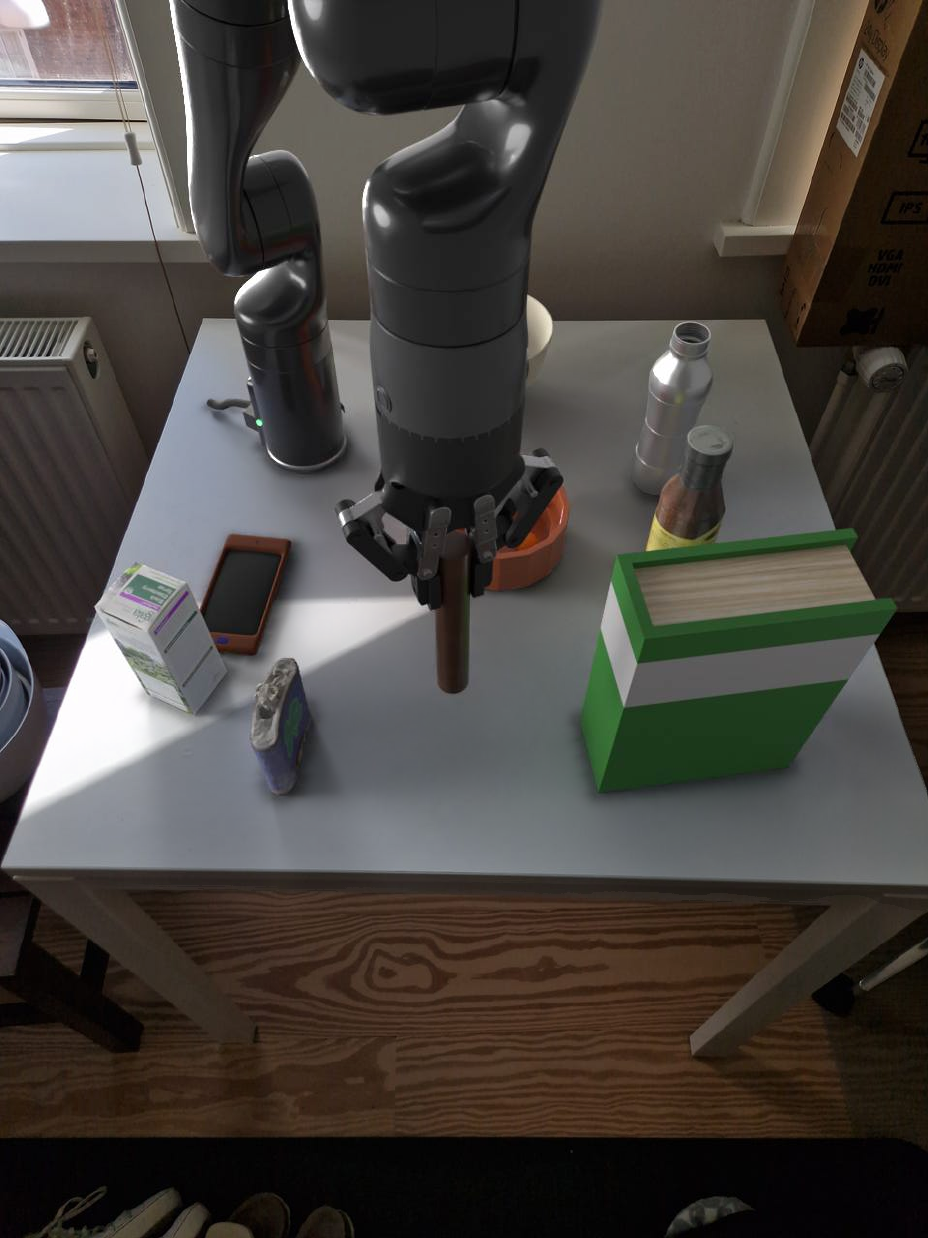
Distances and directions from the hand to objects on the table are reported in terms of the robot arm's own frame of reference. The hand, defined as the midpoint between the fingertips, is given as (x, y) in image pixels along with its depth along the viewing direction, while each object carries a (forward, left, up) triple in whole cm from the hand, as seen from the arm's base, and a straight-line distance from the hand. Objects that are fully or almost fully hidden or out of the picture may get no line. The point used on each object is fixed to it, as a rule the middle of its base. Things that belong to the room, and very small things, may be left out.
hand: (451, 592), depth 56 cm
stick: (0, 0, -11) cm, 11 cm away
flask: (-14, -7, -26) cm, 31 cm away
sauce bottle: (+6, +30, -26) cm, 40 cm away
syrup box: (-27, -7, -26) cm, 38 cm away
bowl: (-27, +45, -26) cm, 58 cm away
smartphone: (-30, +4, -26) cm, 40 cm away
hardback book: (+16, +14, -26) cm, 34 cm away
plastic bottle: (-2, +43, -26) cm, 50 cm away
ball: (-8, +25, -24) cm, 36 cm away
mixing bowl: (-12, +25, -26) cm, 38 cm away
